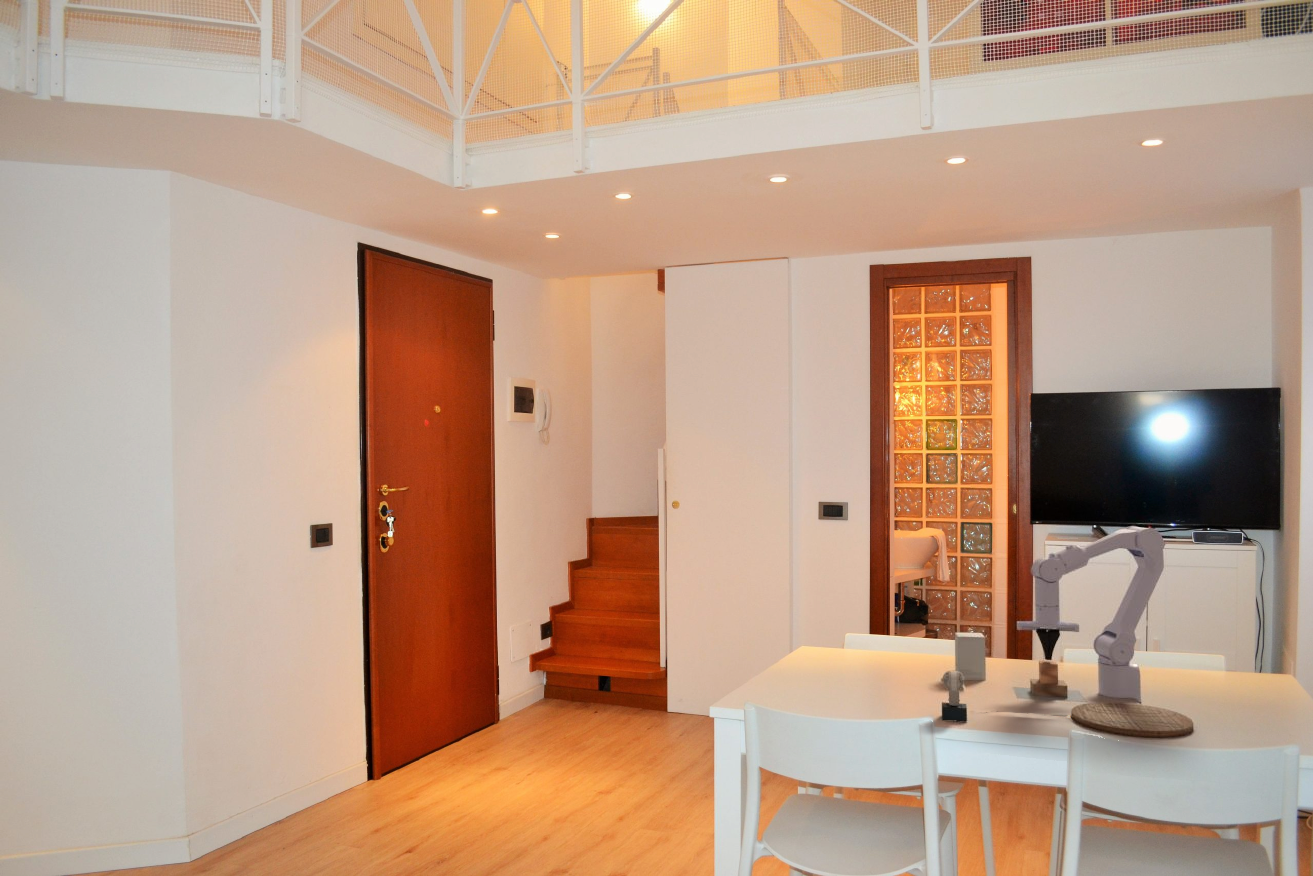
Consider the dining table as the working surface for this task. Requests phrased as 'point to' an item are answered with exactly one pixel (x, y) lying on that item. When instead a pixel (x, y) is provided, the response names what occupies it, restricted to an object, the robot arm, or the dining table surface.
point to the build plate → (1027, 694)
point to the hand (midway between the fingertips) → (1048, 659)
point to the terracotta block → (1048, 672)
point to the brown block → (1048, 689)
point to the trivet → (1132, 720)
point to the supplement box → (970, 655)
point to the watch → (953, 697)
